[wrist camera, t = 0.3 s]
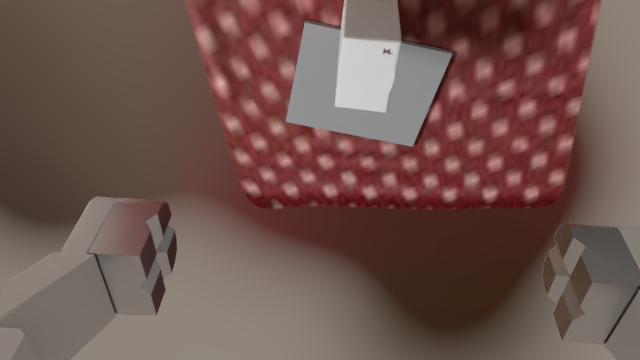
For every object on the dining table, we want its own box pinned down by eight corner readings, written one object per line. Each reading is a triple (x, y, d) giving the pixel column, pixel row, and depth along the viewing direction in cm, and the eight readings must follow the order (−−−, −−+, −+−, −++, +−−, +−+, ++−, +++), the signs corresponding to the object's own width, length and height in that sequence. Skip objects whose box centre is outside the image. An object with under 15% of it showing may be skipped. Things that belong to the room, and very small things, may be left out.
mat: (305, 19, 50) (304, 22, 50) (452, 50, 51) (452, 53, 51) (286, 118, 58) (285, 121, 58) (412, 143, 60) (412, 146, 59)
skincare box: (346, -29, 46) (342, 34, 37) (396, -23, 46) (404, 41, 37) (338, 37, 50) (333, 108, 41) (384, 42, 50) (389, 114, 41)
